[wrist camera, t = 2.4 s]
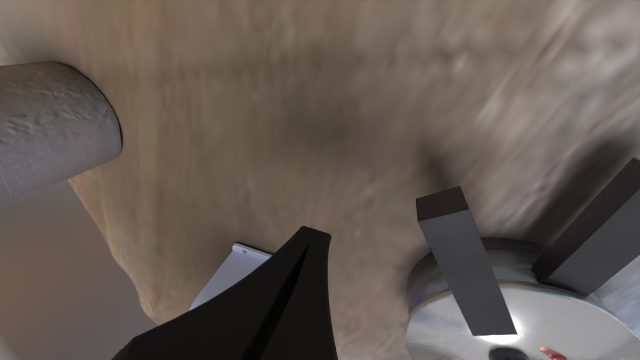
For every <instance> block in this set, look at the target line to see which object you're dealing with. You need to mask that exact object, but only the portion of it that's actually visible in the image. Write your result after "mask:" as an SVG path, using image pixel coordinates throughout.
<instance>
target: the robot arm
mask: <svg viewBox="0 0 640 360" xmlns="http://www.w3.org/2000/svg"><path fill="white" fill-rule="evenodd" d="M330 241H331V235H330V234H328V233H325V232H322V231H319V230H316V229H313V228H309V227H306V226H302V227H300V229H299V230H298V231H297V232H296V233H295V234H294V235H293V236H292V237H291V238H290V239H289V240H288V241H287V242H286V243H285V244H284V245H283V246H282V247H281V248H280V249H279V250H278V251H277V252H275V253H274V254H273V255H270V254H267V253H264V252H261V251H258V250H256V249H253V248H250V247H247V246H244V245H241V244H238V243H235V244H234V245H233V247H232V249H233V251H232V252H231V254H230V255H229V256H228V257H227V259H226V260H225V261H224V263H223V264H222V265H221V266H220V268H219V269H218V270H217V271H216V273H215V274H214V275H213V276H212V278H211V279H210V280H209V282H208V283H207V284H206V285H205V287H204V288H203V289H202V290H201V292H200V293H199V294H198V296H197V297H196V299H195V300H194V302H193V304H192V306H191V307H190V309H189V311H188V312H186V313H184V314H182V315H180V316H179V317H177V318H175V319H173V320H170V321H168V322H166V323H164V324H162V325H160V326H158V327H155V328H153V329H151V330H149V331H147V332H145V333H142V334H140V335H138V336H136V337H134V338H133V339H132V340H131V341H130V342H129V343H128V344H127V345H126V346H125V347H124V348H123V349H121V350H120V351H119V352H118V353H117V354H116V355H115V356H114V357H113V359H112V360H338V357H337V352H336V347H335V342H334V336H333V330H332V323H331V315H330V307H329V295H328V251H329V245H330Z"/></svg>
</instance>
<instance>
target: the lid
mask: <svg viewBox="0 0 640 360" xmlns="http://www.w3.org/2000/svg"><path fill="white" fill-rule="evenodd" d="M416 208H417V219H418V223H419V225H420V228H421V230H422V232H423V234H424V236H425V238H426V240H427V242H428V244H429V246H430V248H431V250H432V252H433V255H434V257H435V259H436V261H437V263H438V265H439V267H440V269H441V271H442V273H443V275H444V277H445V279H446V281H447V284H448V286H449V288H447V289H445V290H442V291H439V292H437V293H435V294H433V295H431V296H429V297H427V298H426V299H424V300H423V301H422V302H420V303H419V304H418V305H417V306H416V307H415V308H414V309H413V310H412V312H411V313H410V315H409V317H408V319H407V322H406V328H405V336H406V346H407V350H408V352H409V354H410V356H411V358H412V359H413V360H640V341H639V340H638V338H637V337H636V336H635V335H634V333H633V332H632V331H631V330H630V328H629V327H628V326H627V325H626V324H625V323H624V322H623V320H622V319H621V318H620V317H619V316H617V315H616V314H615V313H613V312H612V311H611V310H609V309H608V308H606V307H604V306H603V305H601V304H599V303H597V302H596V301H594V300H591V299H589V298H587V297H584V296H582V295H580V294H577V293H574V292H571V291H568V290H565V289H561V288H557V287H553V286H548V285H543V284H537V283H530V282H519V281H497V279H496V277H495V274H494V272H493V269H492V266H491V264H490V261H489V259H488V256H487V254H486V251H485V249H484V246H483V243H482V241H481V238H480V236H479V233H478V231H477V228H476V225H475V223H474V220H473V218H472V215H471V213H470V210H469V208H468V205H467V202H466V200H465V197H464V195H463V192H462V190H461V187H460V186H459V187H455V188H452V189H448V190H445V191H442V192H438V193H435V194H431V195H428V196H424V197H421V198H417V199H416Z"/></svg>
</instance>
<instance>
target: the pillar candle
mask: <svg viewBox="0 0 640 360" xmlns="http://www.w3.org/2000/svg"><path fill="white" fill-rule="evenodd" d="M121 150H122V143H121V136H120V129H119V123H118V120H117V117H116V114H115V113H114V111H113V109H112V107H111V106H110V104H109V103H108V101H107V100H106V99H105V98H104V96H103V95H102V93H101V92H100V91H99V90H98V88H96V87H95V86H94V85H93V84H92V83H91V82H90V81H89V80H88V79H86V78H85V77H84V76H82V75H81V74H80V73H78V72H77V71H75V70H73V69H71V68H69V67H67V66H64V65H61V64H58V63H54V62H42V63H31V64H18V65H5V66H0V209H1V208H3V207H5V206H8V205H10V204H12V203H14V202H17V201H19V200H21V199H24V198H26V197H28V196H30V195H33V194H35V193H38V192H40V191H42V190H44V189H47V188H49V187H51V186H53V185H55V184H58V183H60V182H62V181H65V180H67V179H69V178H72V177H74V176H76V175H78V174H81V173H83V172H85V171H87V170H89V169H91V168H94V167H96V166H98V165H101V164H103V163H105V162H108V161H110V160H112V159H113V158H115V157H117V156H118V155H119V154H120V152H121Z"/></svg>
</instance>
